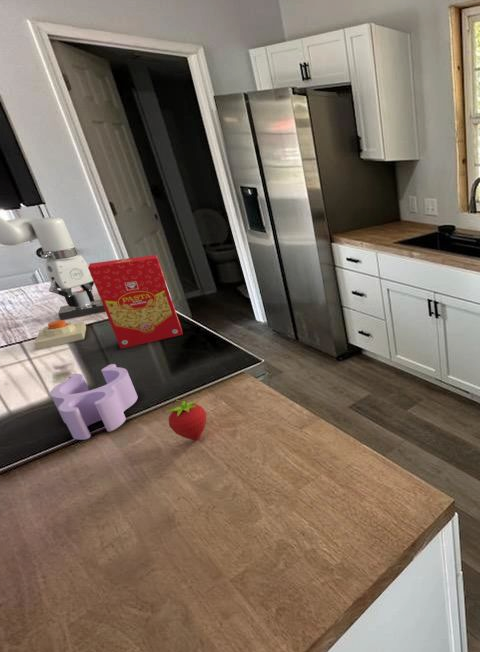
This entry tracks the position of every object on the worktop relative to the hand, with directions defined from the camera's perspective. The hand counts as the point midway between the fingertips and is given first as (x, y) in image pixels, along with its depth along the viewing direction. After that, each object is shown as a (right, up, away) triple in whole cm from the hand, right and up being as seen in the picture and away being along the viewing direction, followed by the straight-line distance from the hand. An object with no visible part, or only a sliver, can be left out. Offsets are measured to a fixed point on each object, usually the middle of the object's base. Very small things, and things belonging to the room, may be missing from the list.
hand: (82, 303), depth 147 cm
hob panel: (0, -3, +1) cm, 3 cm away
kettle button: (+14, -8, -20) cm, 25 cm away
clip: (+62, -25, -55) cm, 87 cm away
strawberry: (+90, -28, -64) cm, 114 cm away
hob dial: (0, -1, 0) cm, 1 cm away
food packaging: (+43, -11, -20) cm, 48 cm away
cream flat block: (+14, -11, -19) cm, 25 cm away
